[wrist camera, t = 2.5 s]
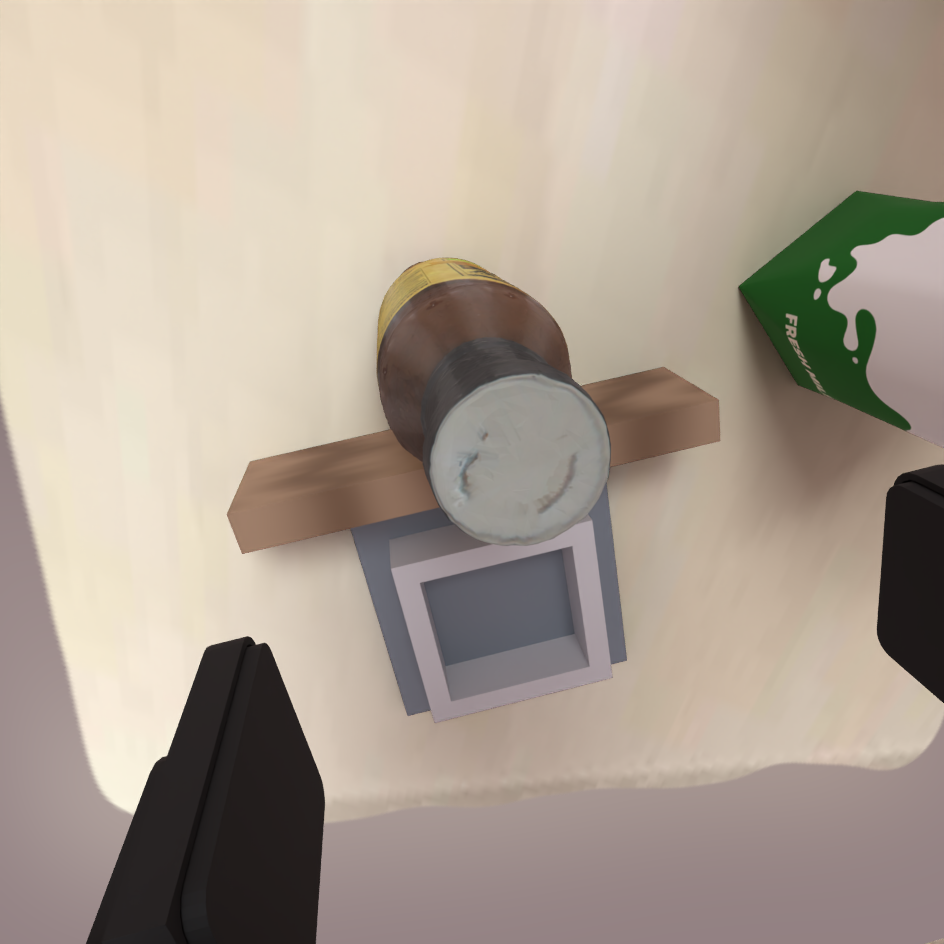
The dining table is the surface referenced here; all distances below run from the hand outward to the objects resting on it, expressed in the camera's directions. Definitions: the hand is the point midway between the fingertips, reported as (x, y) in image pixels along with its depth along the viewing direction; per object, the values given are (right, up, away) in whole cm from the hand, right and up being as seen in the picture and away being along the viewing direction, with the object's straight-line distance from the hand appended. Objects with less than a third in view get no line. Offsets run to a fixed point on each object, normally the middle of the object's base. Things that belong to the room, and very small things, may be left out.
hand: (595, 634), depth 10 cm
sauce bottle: (-3, +10, +23) cm, 25 cm away
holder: (0, -4, +29) cm, 29 cm away
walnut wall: (-2, +5, +25) cm, 25 cm away
